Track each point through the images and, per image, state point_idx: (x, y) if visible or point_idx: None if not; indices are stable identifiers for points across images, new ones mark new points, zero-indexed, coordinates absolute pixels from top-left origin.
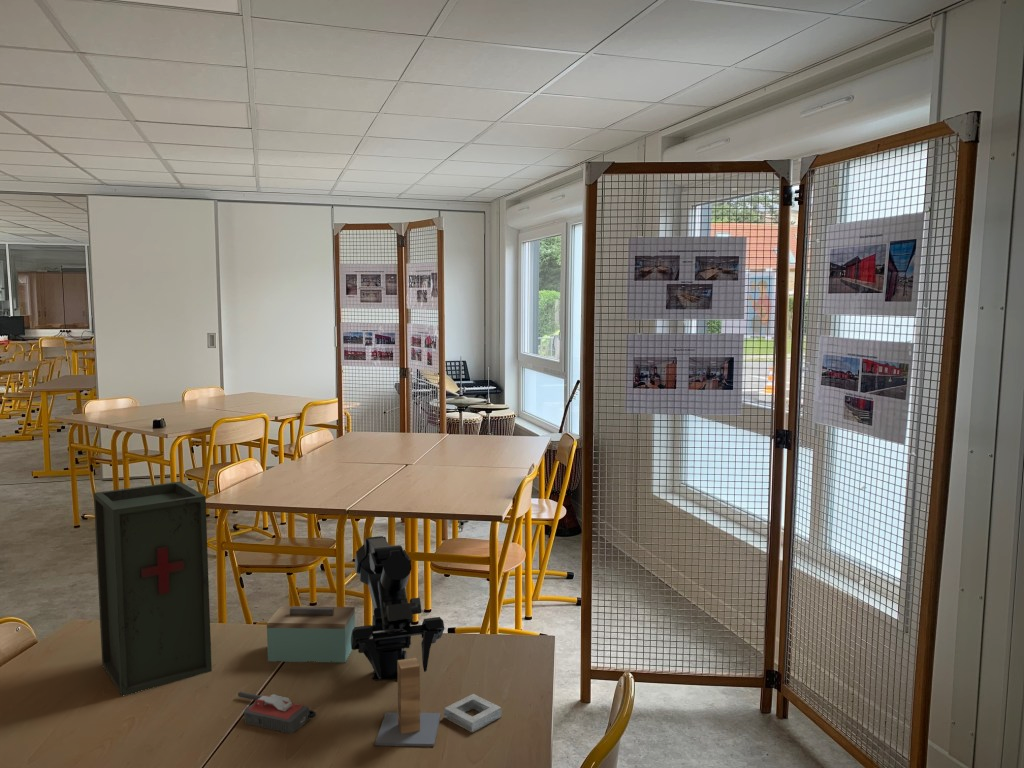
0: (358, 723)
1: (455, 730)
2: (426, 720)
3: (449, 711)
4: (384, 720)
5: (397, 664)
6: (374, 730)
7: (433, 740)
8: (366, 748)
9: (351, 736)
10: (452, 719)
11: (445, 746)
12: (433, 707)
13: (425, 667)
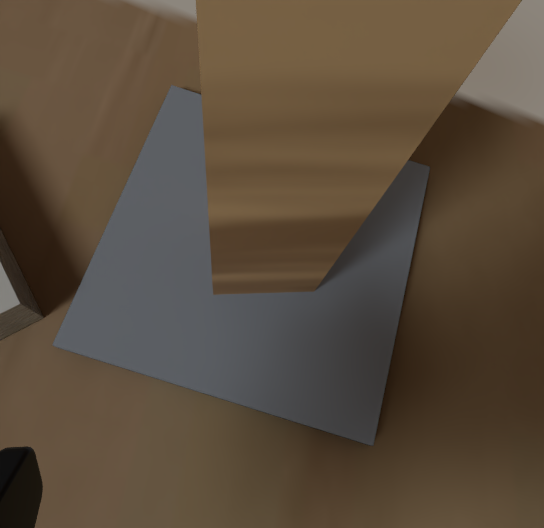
0: (514, 388)
1: (30, 183)
2: (155, 287)
3: (2, 263)
4: (384, 351)
5: (513, 10)
6: (429, 296)
7: (166, 109)
8: (460, 164)
9: (534, 275)
10: (9, 254)
11: (122, 80)
12: (69, 460)
13: (5, 462)
